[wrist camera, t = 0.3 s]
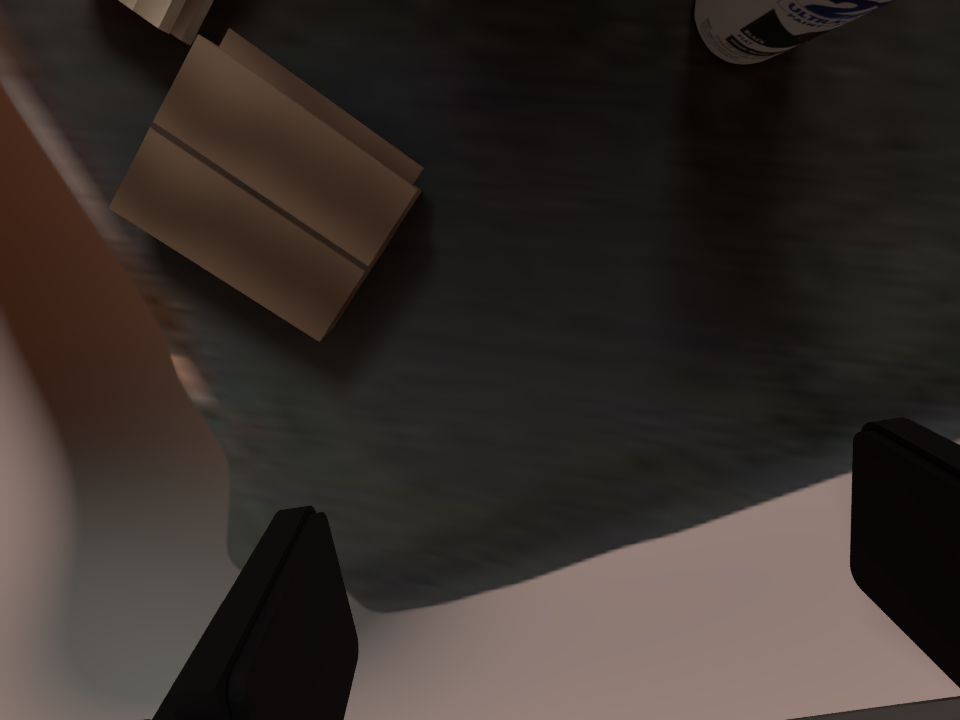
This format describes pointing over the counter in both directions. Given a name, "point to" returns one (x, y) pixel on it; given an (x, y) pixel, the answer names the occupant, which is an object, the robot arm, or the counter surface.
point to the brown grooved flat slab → (267, 184)
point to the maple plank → (173, 15)
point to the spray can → (770, 24)
